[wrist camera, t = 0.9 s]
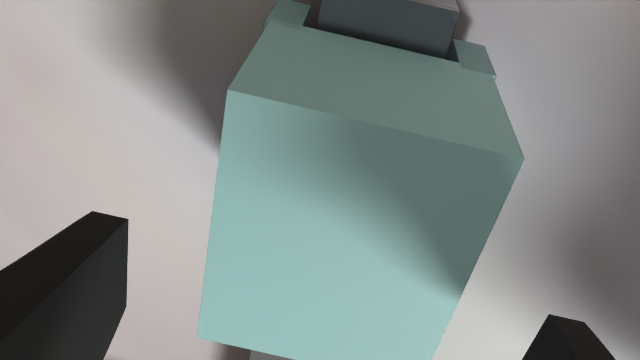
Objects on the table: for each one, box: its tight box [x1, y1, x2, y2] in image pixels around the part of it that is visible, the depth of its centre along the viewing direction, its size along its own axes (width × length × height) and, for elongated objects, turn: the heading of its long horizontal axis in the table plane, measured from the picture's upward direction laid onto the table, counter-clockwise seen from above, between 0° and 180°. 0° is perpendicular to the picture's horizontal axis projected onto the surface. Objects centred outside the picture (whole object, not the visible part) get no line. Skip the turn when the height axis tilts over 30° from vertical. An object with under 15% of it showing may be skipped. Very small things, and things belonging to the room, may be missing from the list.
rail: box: [249, 0, 460, 360], centre depth 18 cm, size 3×19×2 cm, turn 168°
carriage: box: [197, 0, 524, 360], centre depth 13 cm, size 5×6×6 cm
